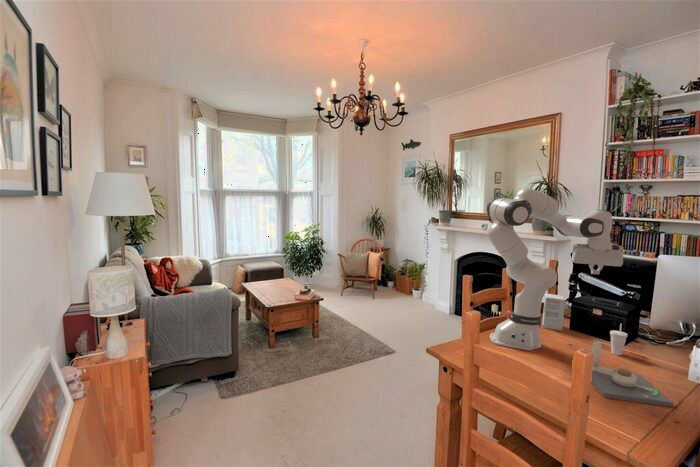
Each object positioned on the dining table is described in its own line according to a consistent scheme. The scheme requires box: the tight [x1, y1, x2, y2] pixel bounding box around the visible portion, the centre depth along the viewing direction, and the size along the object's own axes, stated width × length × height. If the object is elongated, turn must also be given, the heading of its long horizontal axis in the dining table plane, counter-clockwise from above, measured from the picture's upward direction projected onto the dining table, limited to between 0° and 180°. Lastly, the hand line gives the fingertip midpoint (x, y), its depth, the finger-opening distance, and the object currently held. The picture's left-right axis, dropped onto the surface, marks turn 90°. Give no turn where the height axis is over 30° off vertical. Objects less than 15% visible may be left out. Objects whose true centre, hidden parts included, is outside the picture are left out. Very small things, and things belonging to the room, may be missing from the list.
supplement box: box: [541, 293, 566, 331], centre depth 194 cm, size 10×9×17 cm
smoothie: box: [609, 323, 628, 356], centre depth 160 cm, size 6×6×14 cm
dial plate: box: [591, 370, 674, 408], centre depth 131 cm, size 20×20×2 cm
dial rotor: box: [591, 340, 652, 391], centre depth 131 cm, size 18×7×12 cm, turn 44°
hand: (595, 274), depth 169 cm, fingers closed
